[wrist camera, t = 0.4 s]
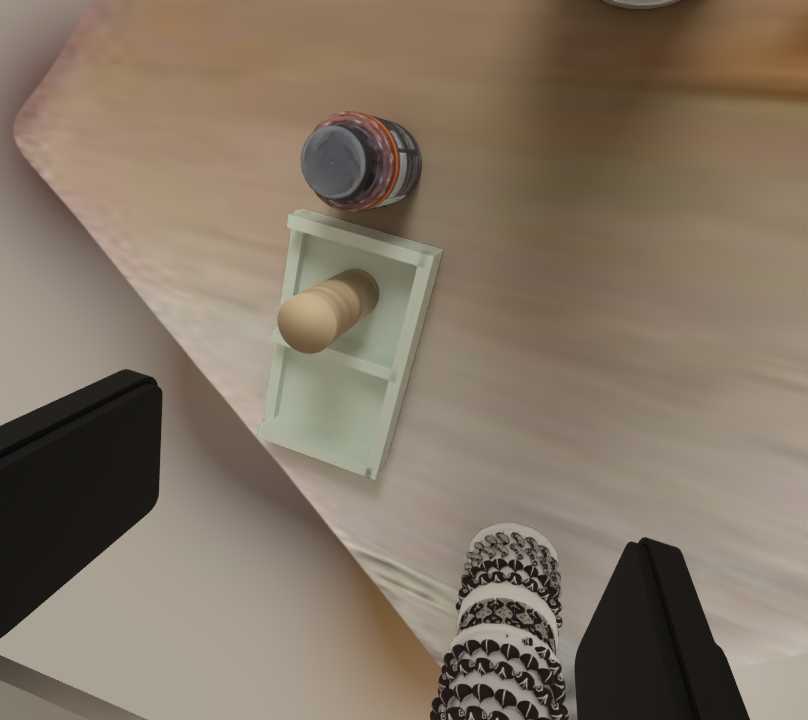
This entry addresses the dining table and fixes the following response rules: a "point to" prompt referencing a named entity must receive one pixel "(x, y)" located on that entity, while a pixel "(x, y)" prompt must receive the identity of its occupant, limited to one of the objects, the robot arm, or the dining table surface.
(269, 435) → the rack
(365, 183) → the supplement bottle
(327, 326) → the beige rounded cylinder
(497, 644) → the decorative candle
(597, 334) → the dining table surface
